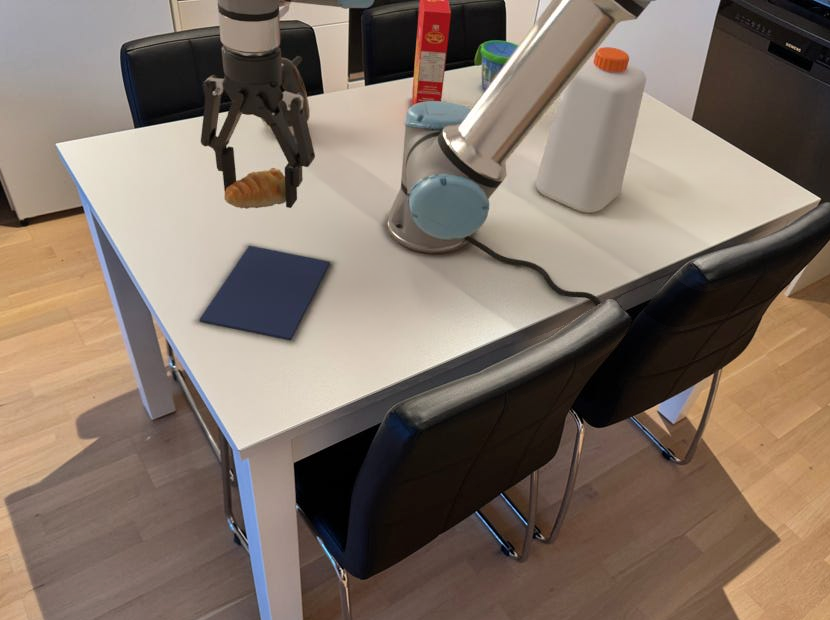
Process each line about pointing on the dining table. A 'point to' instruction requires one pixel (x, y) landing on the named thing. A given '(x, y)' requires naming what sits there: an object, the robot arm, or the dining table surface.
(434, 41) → the food packaging
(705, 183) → the dining table surface
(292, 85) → the pump dispenser
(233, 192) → the pastry
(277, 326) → the cloth mat
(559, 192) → the plastic bottle
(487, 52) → the snack cup
